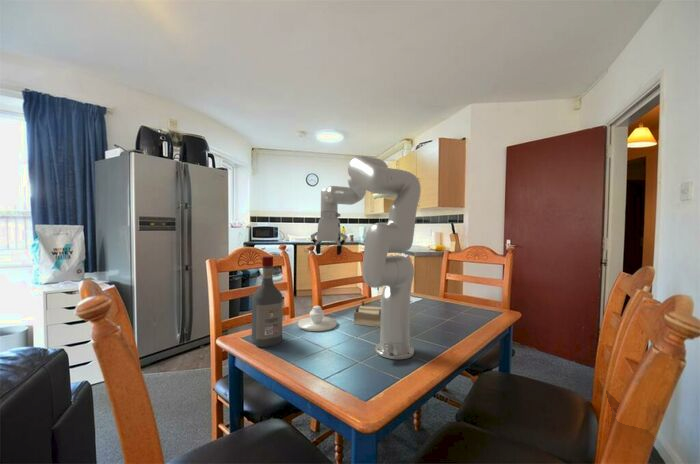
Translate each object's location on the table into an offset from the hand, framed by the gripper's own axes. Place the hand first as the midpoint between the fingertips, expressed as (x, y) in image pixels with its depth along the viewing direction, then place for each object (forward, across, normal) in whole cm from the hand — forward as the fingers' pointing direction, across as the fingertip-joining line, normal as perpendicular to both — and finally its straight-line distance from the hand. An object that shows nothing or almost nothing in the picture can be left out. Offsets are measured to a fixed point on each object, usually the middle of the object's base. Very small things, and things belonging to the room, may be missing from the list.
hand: (328, 254), depth 134 cm
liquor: (+28, +10, +34) cm, 45 cm away
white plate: (+28, 0, +12) cm, 31 cm away
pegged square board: (+28, -20, 0) cm, 35 cm away
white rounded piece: (+27, 0, +12) cm, 30 cm away
